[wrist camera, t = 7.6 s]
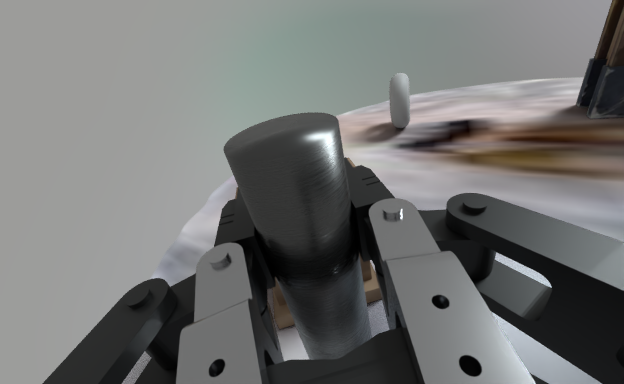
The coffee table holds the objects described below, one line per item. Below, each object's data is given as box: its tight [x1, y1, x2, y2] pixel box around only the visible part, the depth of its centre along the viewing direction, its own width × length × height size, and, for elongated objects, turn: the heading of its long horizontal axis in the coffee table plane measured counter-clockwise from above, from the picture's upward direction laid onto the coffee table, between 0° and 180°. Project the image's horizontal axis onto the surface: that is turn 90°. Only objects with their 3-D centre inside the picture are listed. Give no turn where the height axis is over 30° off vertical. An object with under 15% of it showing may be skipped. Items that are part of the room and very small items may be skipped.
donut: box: [390, 73, 410, 128], centre depth 50 cm, size 10×4×10 cm, turn 163°
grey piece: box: [224, 113, 372, 360], centre depth 17 cm, size 3×18×13 cm, turn 10°
